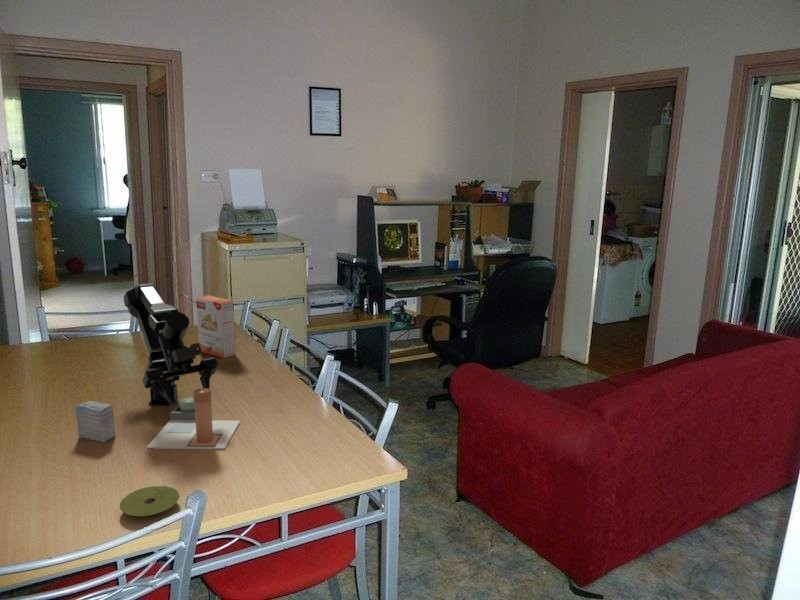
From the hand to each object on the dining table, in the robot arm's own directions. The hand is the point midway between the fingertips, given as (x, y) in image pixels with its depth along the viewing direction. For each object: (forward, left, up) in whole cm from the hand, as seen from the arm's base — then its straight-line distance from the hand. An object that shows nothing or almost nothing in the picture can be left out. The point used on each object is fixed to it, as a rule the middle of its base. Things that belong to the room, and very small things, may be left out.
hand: (190, 400), depth 156 cm
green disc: (+3, -37, -9) cm, 38 cm away
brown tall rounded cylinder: (+5, -7, -8) cm, 12 cm away
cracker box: (-12, +64, -9) cm, 66 cm away
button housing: (-4, +9, -8) cm, 13 cm away
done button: (-4, +9, -7) cm, 12 cm away
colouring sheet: (+2, -3, -8) cm, 9 cm away
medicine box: (-23, -5, -9) cm, 25 cm away
